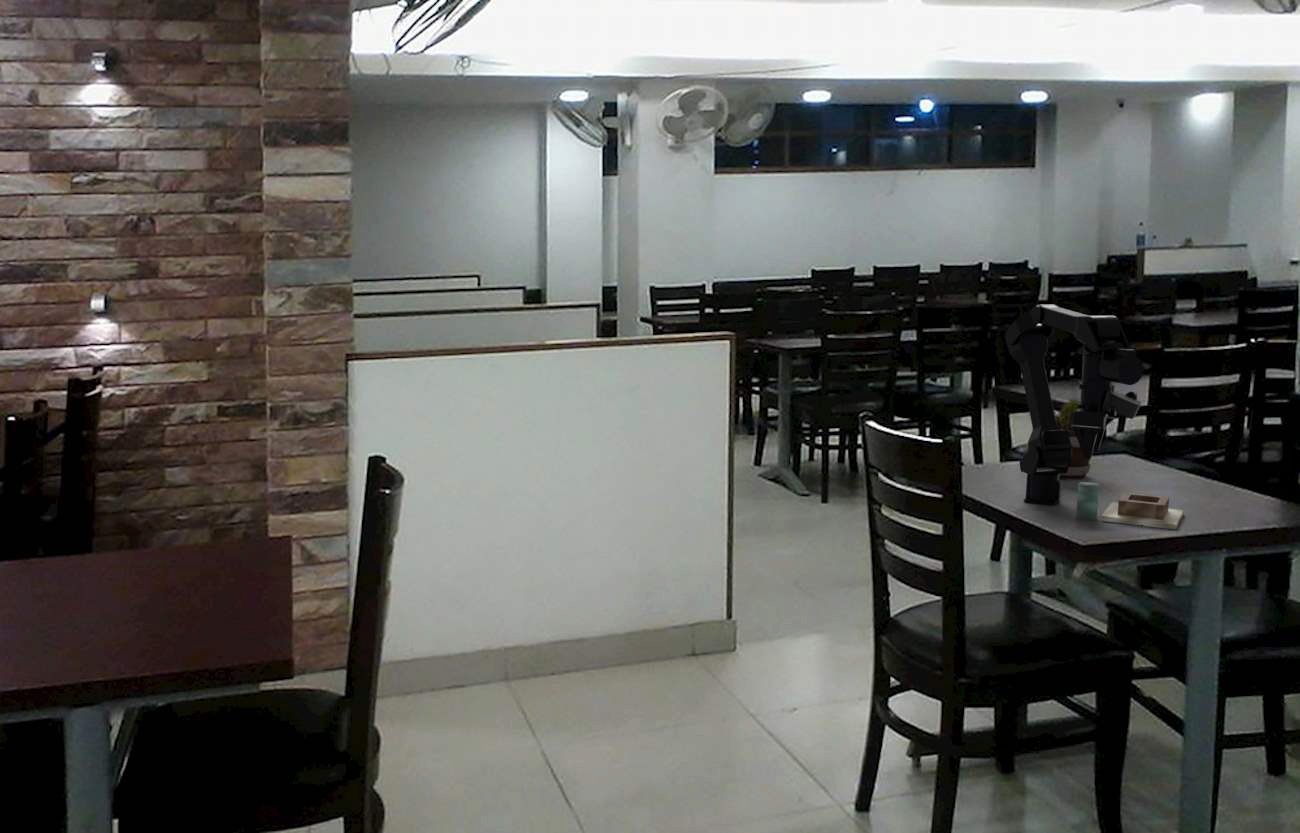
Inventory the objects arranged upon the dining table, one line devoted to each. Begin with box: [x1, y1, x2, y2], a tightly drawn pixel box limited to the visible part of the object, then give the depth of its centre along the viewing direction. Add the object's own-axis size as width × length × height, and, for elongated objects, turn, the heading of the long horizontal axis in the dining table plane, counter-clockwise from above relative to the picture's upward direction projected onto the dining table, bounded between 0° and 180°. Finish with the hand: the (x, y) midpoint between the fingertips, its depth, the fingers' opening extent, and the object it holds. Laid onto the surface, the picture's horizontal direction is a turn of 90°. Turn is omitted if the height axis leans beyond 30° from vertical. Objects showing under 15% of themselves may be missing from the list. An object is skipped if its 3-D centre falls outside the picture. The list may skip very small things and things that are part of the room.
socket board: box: [1100, 491, 1185, 530], centre depth 261 cm, size 14×14×4 cm
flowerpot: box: [1054, 394, 1092, 481], centre depth 300 cm, size 14×15×20 cm
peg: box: [1075, 481, 1100, 521], centre depth 260 cm, size 4×4×7 cm
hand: (1091, 455), depth 258 cm, fingers open, 9 cm apart
